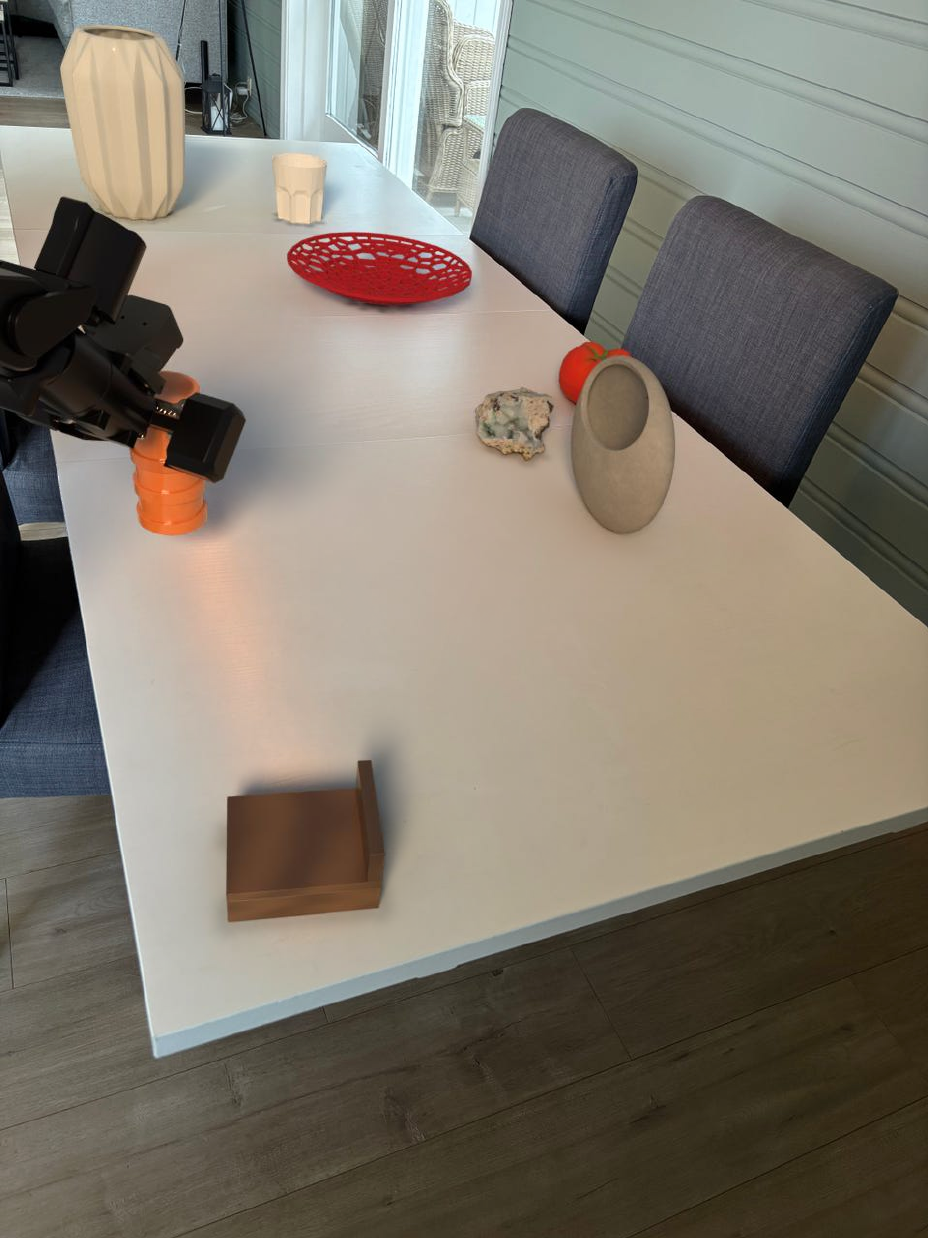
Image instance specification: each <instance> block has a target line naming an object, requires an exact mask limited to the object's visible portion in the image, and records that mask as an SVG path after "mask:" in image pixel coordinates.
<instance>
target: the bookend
mask: <svg viewBox="0 0 928 1238" xmlns="http://www.w3.org/2000/svg"><path fill="white" fill-rule="evenodd" d="M355 775H356V777H355V787H350V788H333V789H321V790H320V789H319V790H306V791H290V792H276V793H275V792H274V793H261V794H244V795H228V796H227V797H226V861H225V863H226V864H225V865H226V867H225V868H226V869H225V871H226V873H225V877H226V878H225V879H226V880H225V889H226V890H225V899H226V900H225V901H226V912H227V922H228V923H236V922H237V923H238V922H248V921H258V920H269V919H278V918H279V919H280V918H288V917H289V918H290V917H299V916H310V915H321V914H322V915H323V914H332V913H342V912H352V911H353V912H354V911H363V910H372V909H373V910H374V909H379V908H380V900H381V894H382V893H381V891H382V885H383V875H384V866H385V858H386V851H385V844H384V837H383V830H382V823H381V816H380V810H379V809H380V808H379V803H378V794H377V787H376V781H375V775H374V767H373V761H372V760H371V759H362V760H361V759H360V760H357V763H356V774H355Z"/></svg>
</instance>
